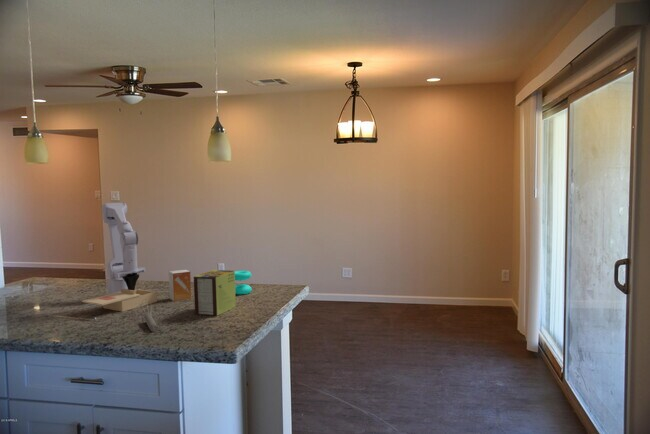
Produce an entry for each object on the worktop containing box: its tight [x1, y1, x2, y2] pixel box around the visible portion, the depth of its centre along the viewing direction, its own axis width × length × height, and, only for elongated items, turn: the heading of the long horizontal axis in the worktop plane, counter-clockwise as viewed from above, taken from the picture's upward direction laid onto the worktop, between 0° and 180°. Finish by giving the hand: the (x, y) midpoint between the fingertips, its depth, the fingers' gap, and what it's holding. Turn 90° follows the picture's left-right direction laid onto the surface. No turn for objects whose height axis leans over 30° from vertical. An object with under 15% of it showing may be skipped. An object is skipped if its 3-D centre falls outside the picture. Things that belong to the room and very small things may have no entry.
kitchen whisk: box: [134, 299, 159, 333], centre depth 193 cm, size 6×34×6 cm, turn 28°
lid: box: [81, 289, 140, 306], centre depth 209 cm, size 12×18×2 cm
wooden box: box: [102, 289, 158, 312], centre depth 217 cm, size 12×18×5 cm, turn 150°
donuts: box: [234, 270, 253, 296], centre depth 239 cm, size 10×10×10 cm
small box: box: [168, 269, 192, 302], centre depth 227 cm, size 8×6×13 cm
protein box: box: [193, 269, 237, 317], centre depth 208 cm, size 10×15×16 cm
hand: (131, 291), depth 218 cm, fingers closed
